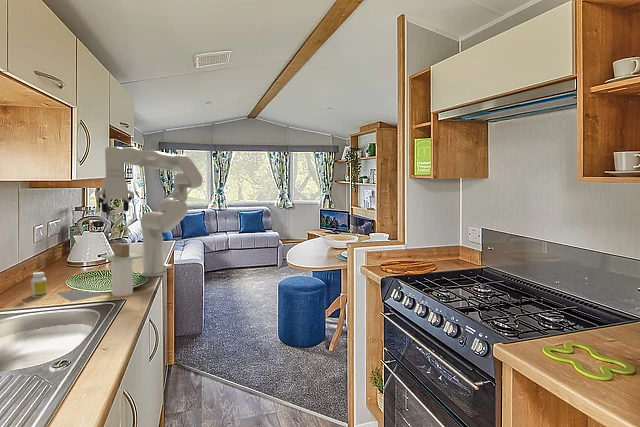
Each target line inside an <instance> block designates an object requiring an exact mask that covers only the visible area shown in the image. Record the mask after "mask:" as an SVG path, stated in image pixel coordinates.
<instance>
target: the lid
mask: <svg viewBox="0 0 640 427" xmlns="http://www.w3.org/2000/svg"><path fill="white" fill-rule="evenodd" d="M113 247H114V248H113V250H114V252H113V253H110V254H107V253H106V254H101V255H100V258H102V259H105V260H108V261H110V262H111V261H113V262H116V261H123V260H130V259H132V260H136V259H143V255H141V254H138V253H134V252H132V251H130V244H129V243H125V242H115V243H114V244H113Z"/></svg>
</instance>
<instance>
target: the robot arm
mask: <svg viewBox="0 0 640 427" xmlns="http://www.w3.org/2000/svg"><path fill="white" fill-rule="evenodd" d="M104 153H105V154H104V156H105V157H104V158H105V159H104V160H105V176H104V177H103V179H102V183H101V184H102V186H101V190H99V191H98V192H96V193H95V194H94V195H95V198H96V199H97V201H98V202H100V203H101V211H102V213H108V204H107V202H108V201H109V200H122V201H124V202H123V211H124V212H129V209H130V208H129V207H130V205H129V204H130V202H131V201H132V200H133V197H134V195H135V193H134V192H132V191H131V190H129V189H128V184H127V179H126V177H125V175H127V171H125V170H124V169H125V166H124V165H131V166H138V167H144V168H149V169H157V170H164V171H170V172H177V173H176V174H175V175H174V179H173V190H172V191H171V192H170V194H168V195H167V196H166V197H165V198H164V199H162V201H161V202H159V204H158V205H157V211H148V212H144V214H142V216H141V218H140V228H141V233H142V256H143V258H142V262H143V263H142V266H143V267H142V268H143V270H141V271H140V272H139V276H141V277H148V278H149V277H150V278H155V277H162V276H165V275H166V274H167V272H168V271H167V269H172V268H173V265H172V263H171V264H165V263H164V237H163V234H162V233H168V232H171V231H172V230H173V229H174V228H175V227H176V226H177V225H178V224H179V223H180V222H181V221H183V219H184V218H185V217H186V216H187V213H188V208H189V207H188V205H187V203H186V202H187V200H188V199H189V198H188V195H189V194H188V189H199V188H200V187H201V186H202V185H203V181H204V180H203V179H204V178H203V176H202V174H201V172H200V170H199V169H198V167H197V166H196V165H195V163H194V162H193V160H192V158H190V157H189V156H187V155H186V154H172V153H167V152H162V151H156V150H140V149H139V148H137V147H134V146H120V147H119V146H106V147H105V149H104Z"/></svg>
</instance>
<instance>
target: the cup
mask: <svg viewBox="0 0 640 427" xmlns="http://www.w3.org/2000/svg"><path fill="white" fill-rule="evenodd" d="M110 262H111V263H110V264H111V265H110V268H111V271H110V272H111V293H112V294H111V295H112V296H114V297H125V296H130V295H132V294H134V282H133V281H134V278H133V274H134V273H133V271H134V269H133V259H130V260H123V261H116V262H113V261H110Z"/></svg>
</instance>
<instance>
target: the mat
mask: <svg viewBox="0 0 640 427" xmlns="http://www.w3.org/2000/svg"><path fill="white" fill-rule="evenodd" d="M78 289H79V288H76V289H71V290H66V291H60V292H56V294H57V295H60V296H61V297H63V298H64V299H67V300H68V301H70V302H75V301H81V300H85V299H91V298H94V297H101V296H105V295H110V294H111V295H112V292H110V293H100V292H88V291H82V290H78Z"/></svg>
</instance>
